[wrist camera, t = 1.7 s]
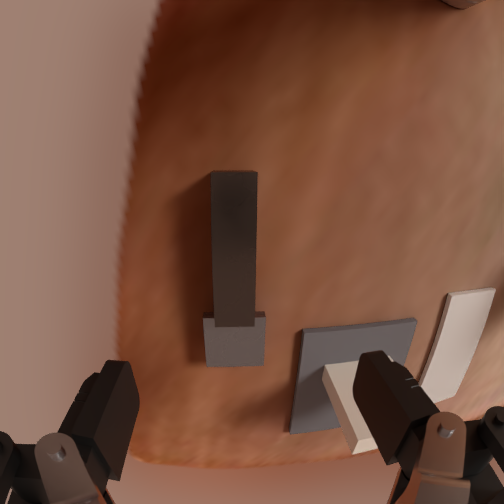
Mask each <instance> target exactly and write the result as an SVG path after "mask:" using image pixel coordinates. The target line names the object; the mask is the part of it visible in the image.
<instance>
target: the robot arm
mask: <svg viewBox="0 0 504 504" xmlns="http://www.w3.org/2000/svg"><path fill="white" fill-rule="evenodd" d="M442 1H443V2H445V3H447V4H449V5H451V6H453V7H456V8H460V9H466V8H469V7H471V6H473V5H476V4H478V3H480V2H483V1H485V0H442ZM352 392H353V398H354V401H355V403H356V405H357V407H358V409H359V411H360V413H361V415H362V417H363V419H364V421H365V423H366V425H367V427H368V429H369V431H370V433H371V435H372V437H373V439H374V441H375V443H376V445H377V447H378V449H379V451H380V453H381V455H382V457H383V459H384V461H385V463H386V465H390V464H393V463H396V462H399V464H400V466H401V467H400V469H399V471H398V473H397V476H396V479H395V482H394V485H393V488H392V491H391V494H390V496H389V499H388V501H387V504H504V487H503V485H502V484H501V482H500V480H499V479H498V477H497V475H496V474H495V472H494V470H493V469H492V467H491V466H490V464H489V462H490V461H491V460H492V459H493V457H494V458H495V460H496V461H497V463H498V465H499V466H500V467H501V469H502V471H503V472H504V407H500V406H495V407H491V408H490V409H488V410H487V412H486V413H485V415H484V416H483V418H482V419H480V420H472V421H463V420H462V419H461V418H460V417H459V416H458V415H456V414H453V413H450V412H440V411H439V409H438V408H437V407H436V405H435V404H434V403H433V402H432V400H431V399H430V398H429V396H428V395H427V394H426V392H425V391H424V390H423V389H422V387H421V386H419V383H418V382H417V381H416V380H415V379H413V376H412V375H411V373H410V372H409V371H408V370H407V368H405V367H404V366H402V365H401V364H399V363H398V362H396V361H393V362H392V361H391V360H390V359H389V357H388V356H387V355H386V353H385V352H384V351H382V350H378V351H372V352H366V353H362V354H361V355H360V358H359V362H358V366H357V370H356V374H355V378H354V382H353V388H352ZM139 404H140V401H139V393H138V390H137V386H136V383H135V379H134V376H133V372H132V368H131V365H130V363H129V362H128V361H116V360H107V361H106V362H105V364H104V366H103V368H102V370H101V372H100V373H93V374H92V375H91V376H90V377H88V378H87V379H86V380H85V381H84V382H83V384H82V386H81V388H80V390H79V393H78V394H77V396H76V397H75V401H73V403H72V405H71V407H70V409H69V411H68V413H67V415H66V417H65V419H64V420H63V422H62V424H61V426H60V428H59V430H58V432H57V433H51V434H48V435H45V436H43V437H42V438H41V439H40V440H39V441H38V442H37V444H15V443H14V442H13V440H12V439H11V437H10V436H9V435H8V434H6V433H4V432H1V431H0V504H5V501H6V498H7V496H8V493H9V490H10V488H11V489H12V492H11V495H10V498H9V501H8V504H115V502H114V500H113V499H112V497H111V495H110V493H109V492H108V490H107V488H106V485H107V481H108V479H111V480H116V481H120V478H121V473H122V469H123V465H124V462H125V458H126V454H127V450H128V446H129V443H130V439H131V435H132V432H133V428H134V425H135V421H136V418H137V414H138V411H139Z"/></svg>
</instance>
